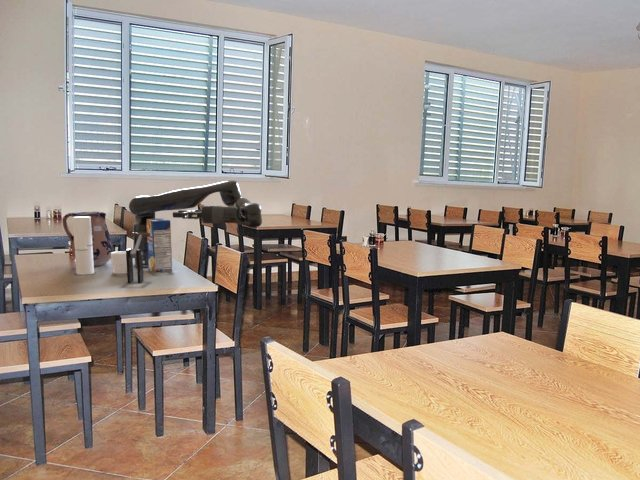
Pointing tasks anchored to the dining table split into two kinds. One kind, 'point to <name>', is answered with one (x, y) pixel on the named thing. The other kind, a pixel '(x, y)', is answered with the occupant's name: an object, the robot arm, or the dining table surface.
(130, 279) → the bracket
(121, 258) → the white cup
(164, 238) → the juice carton
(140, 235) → the lever
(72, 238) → the ceramic pitcher
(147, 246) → the robot arm
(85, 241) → the cylindrical container
